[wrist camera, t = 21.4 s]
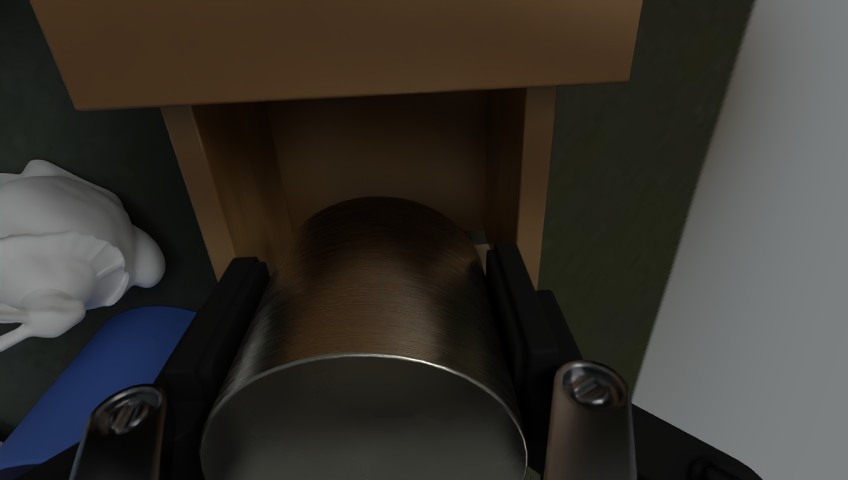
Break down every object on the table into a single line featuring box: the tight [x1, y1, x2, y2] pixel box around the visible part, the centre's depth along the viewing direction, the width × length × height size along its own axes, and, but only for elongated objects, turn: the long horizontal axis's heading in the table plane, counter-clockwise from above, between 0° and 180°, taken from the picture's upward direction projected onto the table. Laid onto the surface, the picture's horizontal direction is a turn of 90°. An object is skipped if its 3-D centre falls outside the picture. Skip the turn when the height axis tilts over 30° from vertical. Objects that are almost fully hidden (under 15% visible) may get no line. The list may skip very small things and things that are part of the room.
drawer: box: [160, 86, 557, 291], centre depth 17 cm, size 18×11×7 cm, turn 2°
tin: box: [199, 196, 529, 480], centre depth 10 cm, size 6×6×5 cm
